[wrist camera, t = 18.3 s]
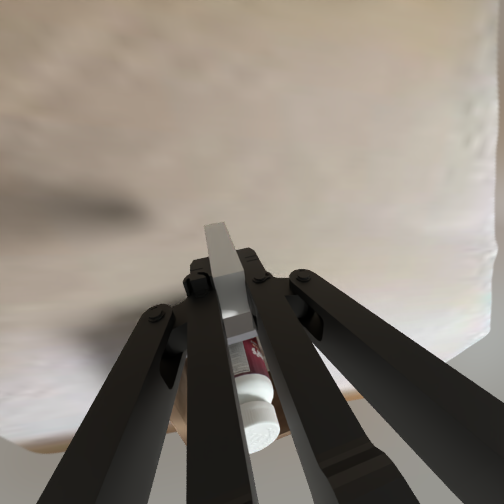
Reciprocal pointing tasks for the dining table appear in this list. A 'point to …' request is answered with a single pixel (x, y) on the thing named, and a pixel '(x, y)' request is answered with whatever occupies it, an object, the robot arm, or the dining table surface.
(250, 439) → the pill bottle
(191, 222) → the dining table surface
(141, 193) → the dining table surface
